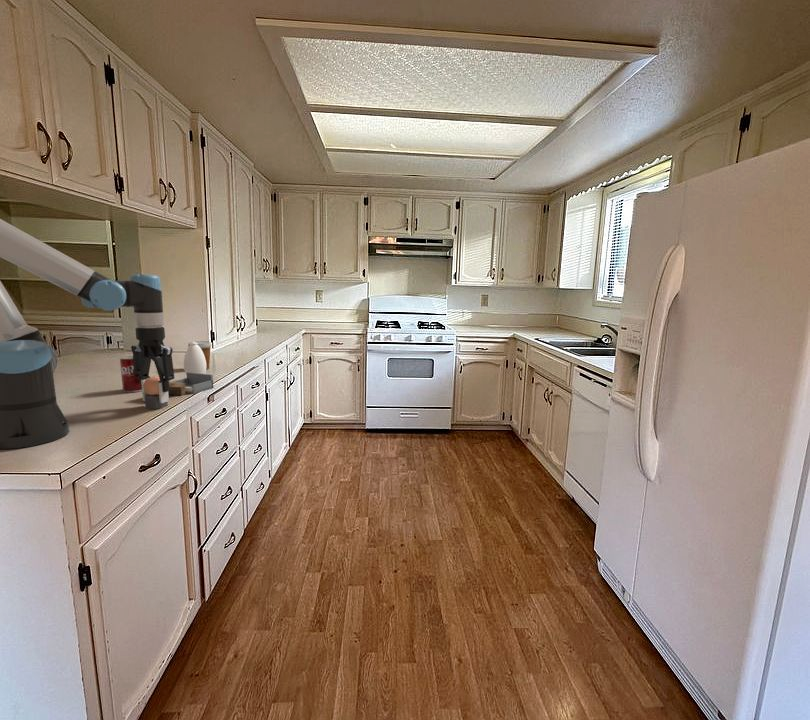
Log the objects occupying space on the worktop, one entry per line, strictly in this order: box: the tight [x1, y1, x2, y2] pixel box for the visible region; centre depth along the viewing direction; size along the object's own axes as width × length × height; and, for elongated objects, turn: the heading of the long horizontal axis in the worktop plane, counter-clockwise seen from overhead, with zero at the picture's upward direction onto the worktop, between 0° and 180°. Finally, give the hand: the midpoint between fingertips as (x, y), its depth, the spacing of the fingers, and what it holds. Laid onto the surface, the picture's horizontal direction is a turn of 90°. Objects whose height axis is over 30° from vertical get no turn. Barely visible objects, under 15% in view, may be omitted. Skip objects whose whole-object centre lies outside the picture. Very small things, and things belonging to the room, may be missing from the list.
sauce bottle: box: [183, 335, 207, 376], centre depth 163 cm, size 8×8×18 cm
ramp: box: [168, 381, 186, 396], centre depth 142 cm, size 10×7×6 cm
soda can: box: [119, 355, 142, 393], centre depth 149 cm, size 7×7×12 cm
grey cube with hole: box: [144, 394, 169, 410], centre depth 130 cm, size 4×4×4 cm
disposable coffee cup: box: [187, 340, 212, 370], centre depth 187 cm, size 10×10×12 cm
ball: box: [143, 375, 160, 396], centre depth 129 cm, size 6×6×6 cm
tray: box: [172, 372, 214, 395], centre depth 152 cm, size 9×11×5 cm
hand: (155, 400), depth 130 cm, fingers closed on ball, 6 cm apart
